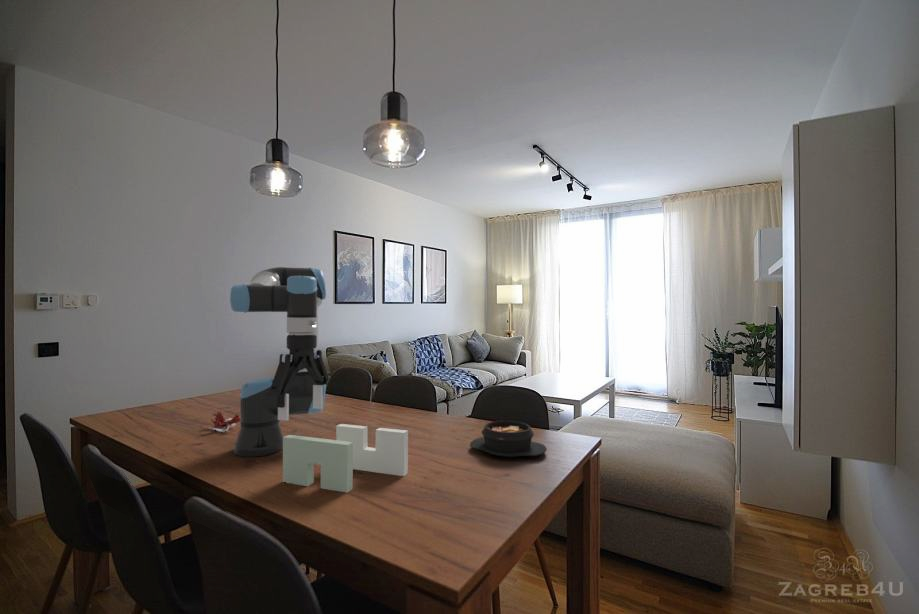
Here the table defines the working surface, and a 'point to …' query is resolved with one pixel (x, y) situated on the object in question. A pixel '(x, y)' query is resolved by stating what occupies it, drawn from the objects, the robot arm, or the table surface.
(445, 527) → the table surface
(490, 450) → the casserole
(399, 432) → the white board
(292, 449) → the green board
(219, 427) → the figurine
